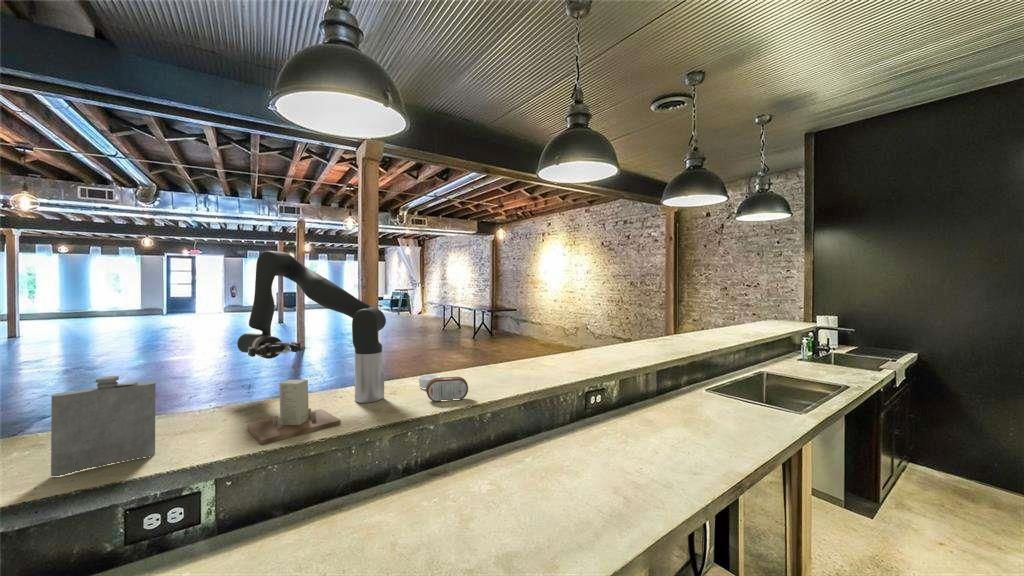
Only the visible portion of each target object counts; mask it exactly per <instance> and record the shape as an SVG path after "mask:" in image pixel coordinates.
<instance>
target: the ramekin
mask: <svg viewBox="0 0 1024 576" xmlns="http://www.w3.org/2000/svg"><path fill="white" fill-rule="evenodd" d="M421 376H422V377H421ZM440 377H441V375H438V374H423V375H420V376H419V377H418V383H419V388H420V387H422V388H426V387H427V384H428V383H429V382H430V381H431V380H432V379H434V378H440Z"/></svg>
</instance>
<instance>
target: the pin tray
mask: <svg viewBox="0 0 1024 576" xmlns="http://www.w3.org/2000/svg"><path fill="white" fill-rule="evenodd" d="M308 410H309V420H307V421H306V422H304V423H302V424H300V425H283V419H280V417H279V415H278V414H277V415H274V416H273V419H270V420H266V421H262V422H261V421H260V422H258V423H252V424H248V425H247V431H248V432H249V433H250V435H252V436H253V437H254V438H255V439H256V440H257V442H258V443H259V444H260V445H261V446H262V445H266V444H269V443H274V442H277V441H282V440H285V439H289V438H292V437H296V436H300V435H304V434H308V433H311V432H316V431H319V430H323V429H327V428H331V427H334V426H335V427H336V426H338V425H341V424H342V423H341V422H342V421H341V419H340V418H338V417H336V416H335V415H333V414H332V413H330V412H328V411H327V410H324V409H323V408H320V409H319V408H318V409H315V410H312V408H309V407H308Z"/></svg>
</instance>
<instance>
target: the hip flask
mask: <svg viewBox="0 0 1024 576" xmlns="http://www.w3.org/2000/svg"><path fill="white" fill-rule="evenodd" d="M119 378H120V376H119V375H108V376H102V377H101V376H100V377H97V378H95V383H96V387H95V388H93V387H92V388H87V389H85V388H84V389H79V390H72V391H65V392H59V393H53V394H52V395H51V401H50V403H51V404H50V406H51V408H50V409H51V410H50V411H51V412H50V413H51V416H50V417H51V418H50V419H51V420H50V423H51V426H50V428H51V430H50V436H51V437H50V445H51V446H50V477H51V476H60V475H65V474H68V473H72V472H75V471H80V470H83V469H87V468H92V467H99V466H103V465H107V464H111V463H117V462H122V461H127V460H132V459H137V458H143V457H149V456H152V455H154V454H155V455H156V381H147V382H139V381H137V382H124V383H122V382H121V383H119V382H118V380H119ZM155 455H154V456H155ZM152 457H153V456H152ZM149 458H150V457H149Z"/></svg>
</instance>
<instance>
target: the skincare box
mask: <svg viewBox="0 0 1024 576" xmlns="http://www.w3.org/2000/svg"><path fill="white" fill-rule="evenodd" d="M278 385H279V386H278V387H279V389H278V390H279V418H280V419H283V425H300V424H302V423H304V422H306V421H307V420H309V410H308V408H309V381H308V379H288V380H284V381H281V382H279V384H278Z"/></svg>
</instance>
